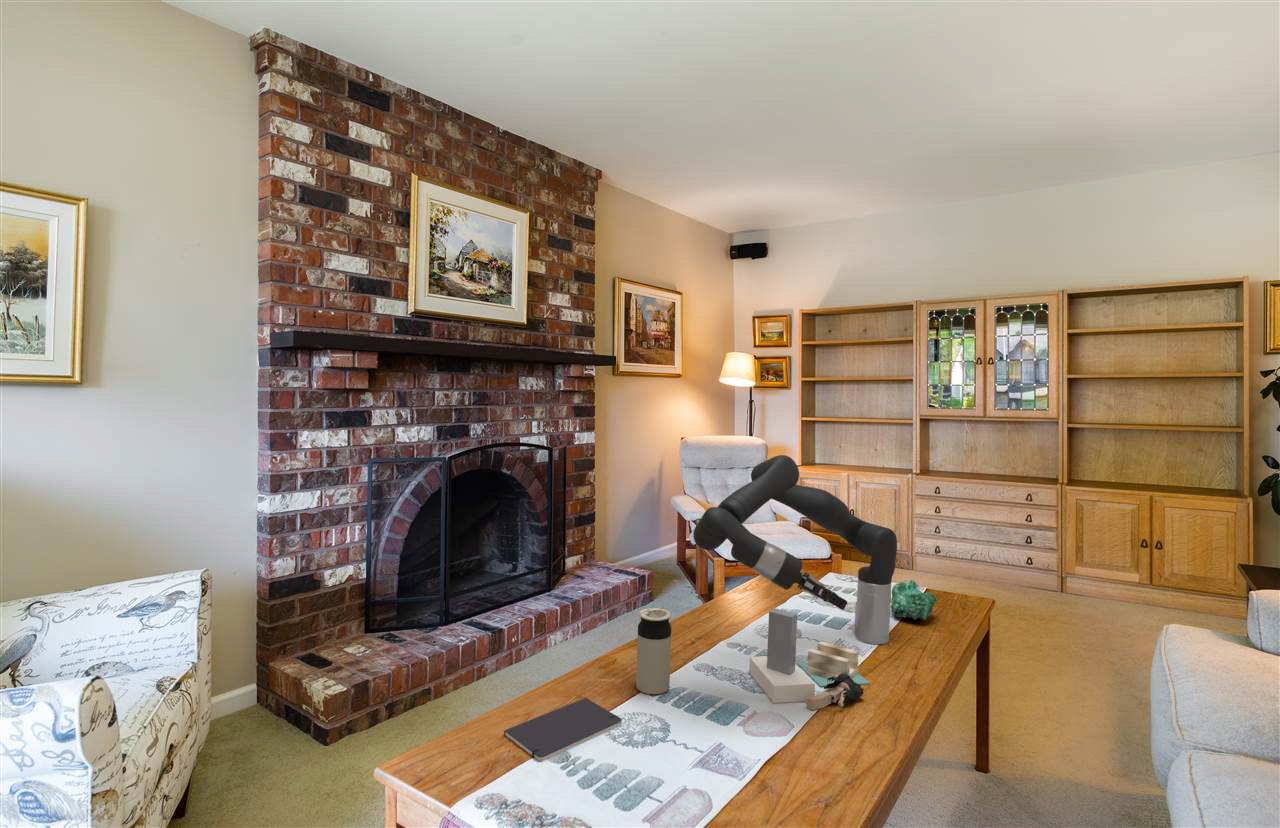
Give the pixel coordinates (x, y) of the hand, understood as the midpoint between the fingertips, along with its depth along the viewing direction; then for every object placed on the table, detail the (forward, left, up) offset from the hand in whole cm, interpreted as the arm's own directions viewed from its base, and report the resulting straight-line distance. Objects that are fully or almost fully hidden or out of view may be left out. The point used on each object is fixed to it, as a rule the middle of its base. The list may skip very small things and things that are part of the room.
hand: (840, 602), depth 145 cm
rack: (-17, +8, -24) cm, 31 cm away
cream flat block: (-12, -8, -25) cm, 29 cm away
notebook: (+1, -61, -25) cm, 66 cm away
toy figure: (-3, +1, -25) cm, 25 cm away
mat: (-17, +8, -25) cm, 31 cm away
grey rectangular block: (-12, -8, -21) cm, 25 cm away
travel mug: (-15, -39, -25) cm, 49 cm away
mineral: (-53, +54, -25) cm, 80 cm away
